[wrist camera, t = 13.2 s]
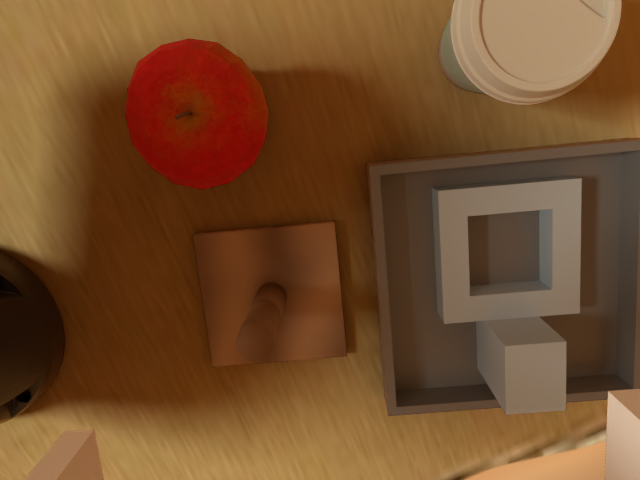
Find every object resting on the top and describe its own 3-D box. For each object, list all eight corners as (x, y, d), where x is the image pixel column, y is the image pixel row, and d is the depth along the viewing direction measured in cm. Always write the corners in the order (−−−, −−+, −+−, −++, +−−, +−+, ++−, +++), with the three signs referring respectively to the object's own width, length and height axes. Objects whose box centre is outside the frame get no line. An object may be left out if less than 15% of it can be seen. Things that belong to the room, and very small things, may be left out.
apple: (292, 161, 39) (276, 175, 28) (187, 187, 40) (128, 211, 28) (263, 45, 37) (233, 8, 26) (154, 74, 38) (76, 50, 27)
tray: (384, 395, 43) (388, 416, 40) (366, 163, 39) (369, 166, 36) (620, 377, 42) (642, 396, 39) (626, 137, 38) (652, 138, 35)
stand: (214, 362, 43) (180, 429, 33) (195, 233, 41) (153, 265, 31) (346, 351, 42) (351, 417, 33) (334, 220, 40) (335, 249, 30)
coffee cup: (550, 88, 38) (650, 69, 26) (438, 127, 38) (485, 126, 27) (521, -32, 36) (613, -110, 24) (404, 11, 37) (438, -44, 25)
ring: (440, 370, 42) (461, 417, 35) (431, 187, 39) (453, 199, 32) (564, 361, 41) (611, 407, 35) (566, 175, 38) (617, 185, 32)
